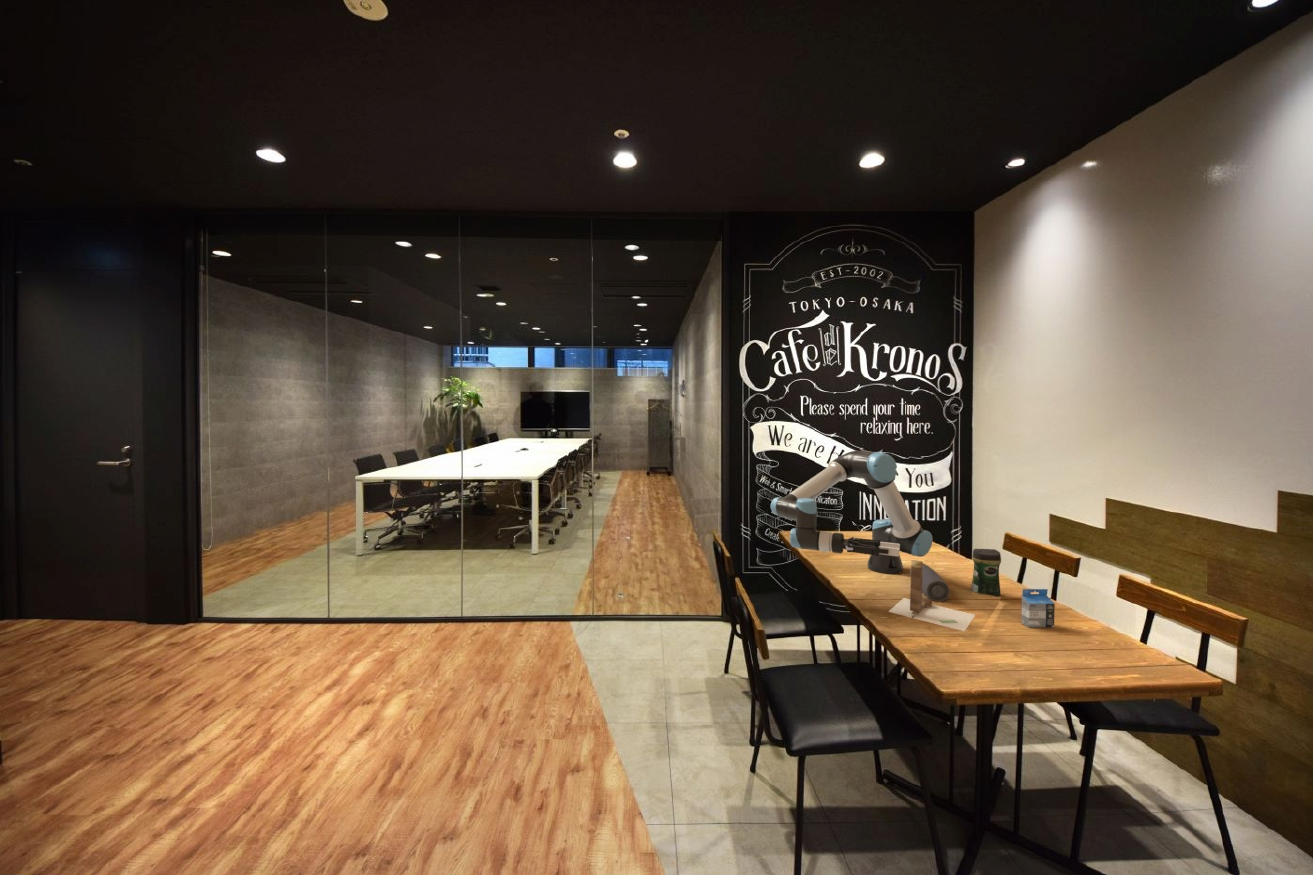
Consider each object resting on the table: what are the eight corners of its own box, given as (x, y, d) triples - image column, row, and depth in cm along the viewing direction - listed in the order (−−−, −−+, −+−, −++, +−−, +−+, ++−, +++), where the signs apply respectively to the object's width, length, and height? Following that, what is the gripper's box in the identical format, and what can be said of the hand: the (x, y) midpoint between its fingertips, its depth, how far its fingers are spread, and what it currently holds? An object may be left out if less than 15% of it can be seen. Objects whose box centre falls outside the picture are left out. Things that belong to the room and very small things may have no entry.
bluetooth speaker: (951, 606, 194) (952, 580, 194) (924, 604, 196) (925, 578, 196) (931, 585, 217) (932, 562, 216) (908, 584, 218) (908, 561, 218)
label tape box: (1028, 628, 175) (1030, 592, 174) (1020, 623, 179) (1021, 588, 179) (1054, 628, 175) (1056, 592, 174) (1045, 623, 179) (1047, 588, 178)
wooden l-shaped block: (918, 601, 194) (920, 552, 193) (933, 604, 191) (935, 554, 190) (905, 614, 182) (907, 562, 181) (920, 618, 179) (922, 565, 178)
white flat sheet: (888, 615, 185) (888, 611, 185) (903, 601, 199) (903, 597, 199) (964, 635, 169) (964, 630, 169) (975, 618, 183) (975, 614, 182)
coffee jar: (993, 591, 209) (995, 547, 208) (1003, 599, 202) (1005, 552, 200) (967, 590, 211) (969, 546, 210) (976, 597, 203) (978, 551, 202)
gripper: (835, 546, 203) (899, 553, 193) (827, 558, 186) (898, 567, 176) (835, 527, 203) (900, 533, 192) (828, 538, 186) (898, 546, 175)
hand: (899, 550), depth 184 cm, fingers open, 6 cm apart
